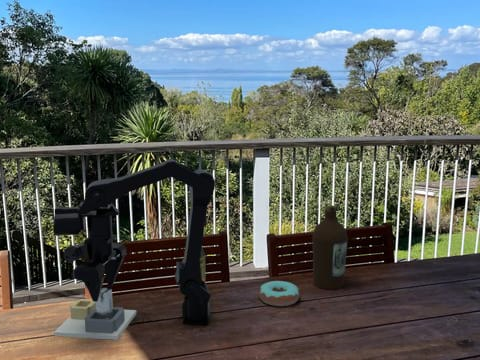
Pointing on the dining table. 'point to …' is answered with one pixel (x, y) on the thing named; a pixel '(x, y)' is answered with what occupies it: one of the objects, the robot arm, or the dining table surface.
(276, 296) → the donut
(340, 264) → the olive oil
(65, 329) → the fitting plate
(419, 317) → the dining table surface
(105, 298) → the metal cylinder
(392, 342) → the dining table surface
